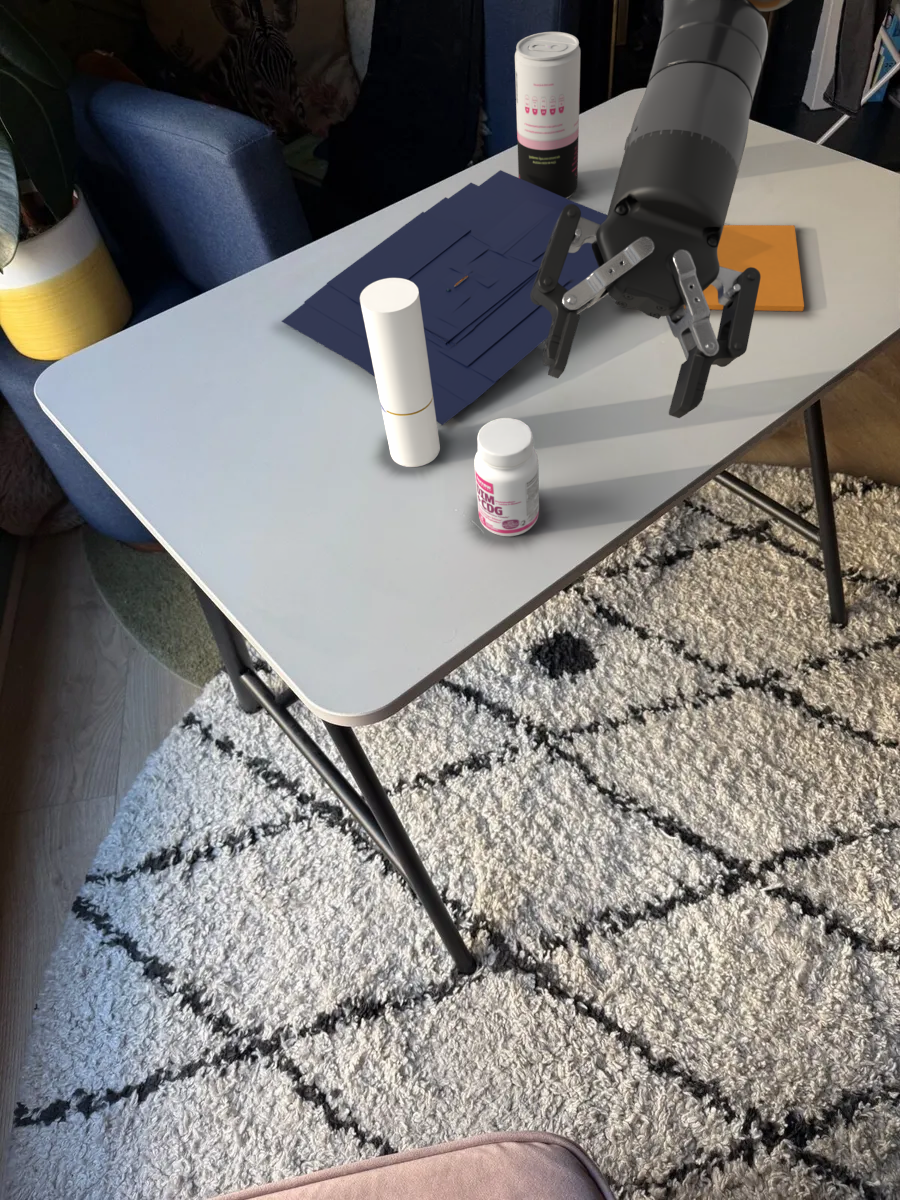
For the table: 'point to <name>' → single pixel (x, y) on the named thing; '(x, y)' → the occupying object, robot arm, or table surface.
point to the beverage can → (548, 110)
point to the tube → (401, 369)
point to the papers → (459, 286)
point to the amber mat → (763, 264)
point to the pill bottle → (507, 477)
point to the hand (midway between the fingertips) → (617, 394)
